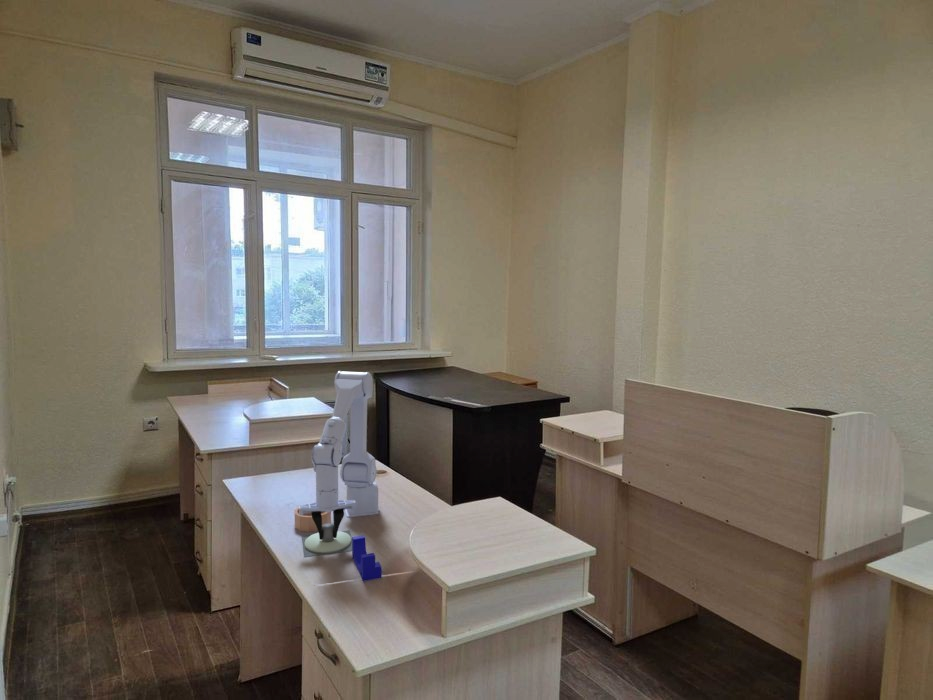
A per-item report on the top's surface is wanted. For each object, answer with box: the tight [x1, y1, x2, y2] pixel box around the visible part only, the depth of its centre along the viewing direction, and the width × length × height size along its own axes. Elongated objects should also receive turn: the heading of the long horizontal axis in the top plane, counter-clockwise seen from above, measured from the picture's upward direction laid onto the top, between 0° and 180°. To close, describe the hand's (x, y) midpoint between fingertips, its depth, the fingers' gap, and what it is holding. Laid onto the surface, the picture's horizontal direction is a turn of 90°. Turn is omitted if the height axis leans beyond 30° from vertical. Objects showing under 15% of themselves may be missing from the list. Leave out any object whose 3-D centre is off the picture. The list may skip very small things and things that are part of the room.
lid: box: [305, 523, 352, 553], centre depth 155 cm, size 12×12×5 cm
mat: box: [301, 529, 353, 558], centre depth 155 cm, size 13×13×1 cm
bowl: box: [294, 506, 332, 533], centre depth 167 cm, size 10×10×4 cm
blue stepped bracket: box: [351, 535, 382, 582], centre depth 142 cm, size 12×4×6 cm, turn 23°
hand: (327, 537), depth 155 cm, fingers closed on lid, 3 cm apart
